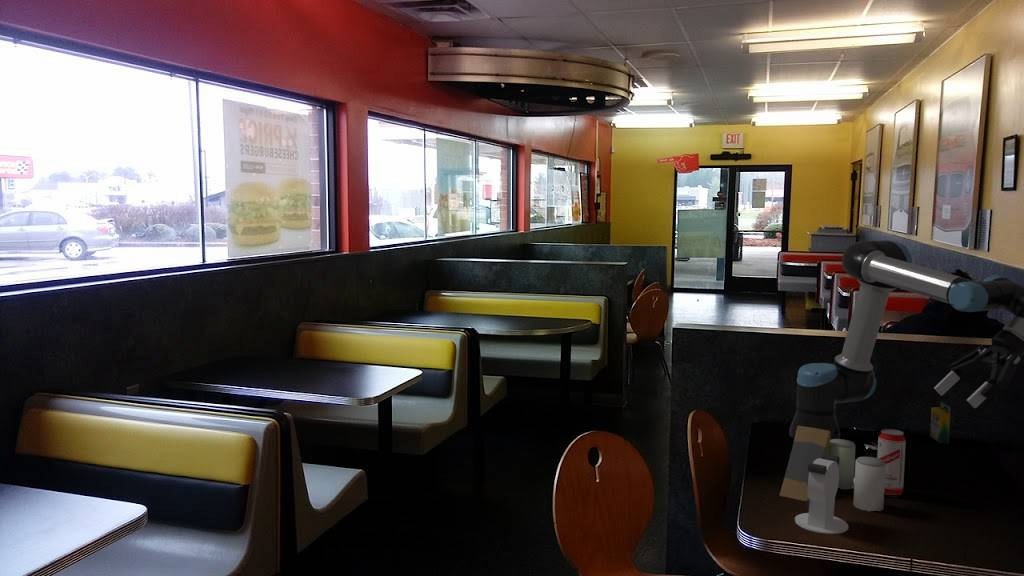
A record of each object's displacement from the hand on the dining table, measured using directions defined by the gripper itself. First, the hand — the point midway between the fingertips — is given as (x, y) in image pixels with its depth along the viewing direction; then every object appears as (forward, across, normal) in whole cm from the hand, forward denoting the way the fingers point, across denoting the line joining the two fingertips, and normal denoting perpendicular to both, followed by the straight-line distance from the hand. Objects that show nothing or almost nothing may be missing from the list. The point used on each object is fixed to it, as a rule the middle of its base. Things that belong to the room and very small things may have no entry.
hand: (953, 397), depth 192 cm
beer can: (+28, 0, -7) cm, 29 cm away
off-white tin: (+35, -8, 0) cm, 36 cm away
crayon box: (-1, +46, -36) cm, 59 cm away
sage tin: (+35, +6, 0) cm, 36 cm away
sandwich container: (+44, +3, +8) cm, 44 cm away
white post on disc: (+47, -18, +12) cm, 52 cm away
